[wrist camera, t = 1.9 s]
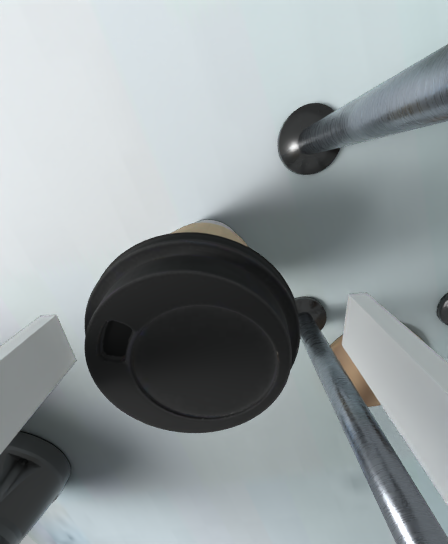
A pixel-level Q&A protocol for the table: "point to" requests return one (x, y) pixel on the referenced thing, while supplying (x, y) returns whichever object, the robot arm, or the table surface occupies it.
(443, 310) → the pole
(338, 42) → the table surface
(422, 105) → the pole outer
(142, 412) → the coffee cup
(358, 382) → the coaster
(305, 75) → the table surface
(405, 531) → the pole corner
